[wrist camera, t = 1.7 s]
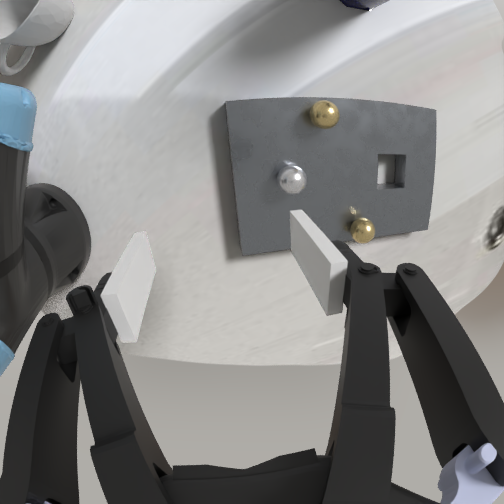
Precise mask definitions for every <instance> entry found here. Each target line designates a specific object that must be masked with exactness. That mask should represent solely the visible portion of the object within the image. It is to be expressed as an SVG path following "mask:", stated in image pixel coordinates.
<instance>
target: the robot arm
mask: <svg viewBox="0 0 504 504" xmlns="http://www.w3.org/2000/svg"><path fill="white" fill-rule="evenodd" d="M36 110H37V103H36V99H35V96H34V95H33V93H32V92H31V91H30V90H28V89H26V88H23V87H20V86H15V85H11V84H6V83H1V82H0V376H1V375H2V374H3V372H4V371H5V369H6V368H7V366H8V365H9V364H10V362H11V361H12V360H13V359H14V357H15V356H14V354H15V352H16V350H17V348H18V347H19V345H20V343H21V341H22V340H23V338H24V336H25V334H26V333H27V331H28V329H29V328H30V326H31V324H32V323H33V321H34V320H35V318H36V316H37V315H38V313H39V312H40V310H41V309H42V307H43V305H44V304H45V302H46V301H47V299H48V298H49V297H50V296H52V295H53V294H55V293H57V292H59V291H61V290H62V289H64V288H66V287H68V286H70V285H71V284H72V283H74V282H75V281H76V280H77V279H78V277H79V276H80V274H81V273H82V272H83V270H84V269H85V267H86V265H87V263H88V260H89V257H90V252H91V237H90V231H89V227H88V224H87V221H86V219H85V216H84V214H83V212H82V211H81V209H80V207H79V206H78V205H77V203H76V202H75V201H74V200H73V198H72V197H71V196H70V195H68V194H67V193H66V192H65V191H63V190H62V189H60V188H58V187H56V186H54V185H51V184H45V183H39V184H34V185H31V186H29V187H27V188H26V181H27V171H28V163H29V156H30V151H32V149H33V143H32V135H33V128H34V121H35V116H36ZM290 230H291V252H292V254H293V255H294V257H295V259H296V261H297V262H298V264H299V266H300V268H301V270H302V271H303V273H304V275H305V277H306V278H307V280H308V282H309V284H310V286H311V287H312V289H313V291H314V293H315V295H316V297H317V298H318V300H319V302H320V304H321V306H322V308H323V309H324V311H325V313H326V315H327V316H328V315H333V314H338V313H342V310H343V302H344V304H345V305H346V307H347V314H346V320H345V327H344V328H345V335H344V345H343V354H342V363H341V371H340V378H339V385H338V392H337V399H336V404H335V410H334V416H333V422H332V427H331V432H330V437H329V442H328V446H327V450H326V454H325V455H316V451H315V449H314V448H313V449H310V450H305V451H301V452H296V453H292V454H287V455H282V456H278V457H276V458H273V459H271V460H269V461H266V462H264V463H261V464H259V465H256V466H253V467H250V468H248V469H234V468H226V467H218V466H212V465H186V466H185V465H184V466H183V465H182V466H173V470H172V468H171V467H170V465H169V464H168V462H167V460H166V459H165V457H164V455H163V453H162V451H161V449H160V447H159V445H158V443H157V441H156V439H155V437H154V435H153V433H152V431H151V428H150V426H149V424H148V422H147V420H146V417H145V415H144V413H143V411H142V408H141V406H140V403H139V401H138V398H137V396H136V393H135V391H134V389H133V386H132V383H131V381H130V378H129V375H128V372H127V370H126V367H125V364H124V361H123V358H122V355H121V352H120V349H119V346H118V344H117V342H116V338H117V335H119V338H120V340H121V342H122V343H132V342H137V339H138V335H139V331H140V327H141V323H142V319H143V316H144V312H145V308H146V304H147V301H148V297H149V294H150V290H151V287H152V283H153V280H154V276H155V273H156V266H155V263H154V259H153V255H152V252H151V248H150V244H149V240H148V236H147V232H146V231H142V232H136V233H134V235H133V237H132V238H131V240H130V242H129V243H128V245H127V247H126V249H125V250H124V252H123V254H122V256H121V257H120V259H119V261H118V263H117V265H116V267H115V268H114V270H113V272H111V273H107V274H106V275H104V276H103V277H102V278H101V280H100V281H99V283H98V285H97V287H96V290H94V292H93V290H92V288H91V286H88V285H83V286H80V287H77V288H75V289H73V290H72V291H70V292H69V293H68V295H67V297H66V300H67V302H68V304H69V307H70V309H71V311H72V313H73V317H71V318H68V319H64V320H61V319H60V317H59V315H58V314H57V313H50V314H46V315H45V316H43V317H42V318H41V319H40V320H39V322H38V323H37V326H36V328H35V331H34V334H33V336H32V339H31V342H30V345H29V348H28V351H27V354H26V357H25V360H24V363H23V366H22V370H21V373H20V377H19V380H18V384H17V388H16V392H15V396H14V400H13V405H12V409H11V414H10V419H9V424H8V431H7V436H6V443H5V451H4V460H3V472H2V475H1V478H0V504H79V489H78V474H77V420H78V403H79V390H80V380H81V384H82V389H83V394H84V399H85V404H86V408H87V413H88V417H89V421H90V425H91V429H92V433H93V437H94V440H95V445H94V446H91V449H90V452H91V457H92V460H93V463H94V467H95V470H96V473H97V476H98V479H99V481H100V484H101V487H102V490H103V492H104V495H105V497H106V500H107V502H108V504H492V503H493V502H494V501H495V500H496V498H497V497H498V496H499V495H500V494H501V493H502V492H503V491H504V403H503V401H502V399H501V397H500V394H499V392H498V390H497V388H496V386H495V384H494V382H493V380H492V378H491V376H490V374H489V372H488V370H487V369H486V367H485V365H484V363H483V361H482V359H481V358H480V356H479V354H478V352H477V351H476V349H475V347H474V345H473V344H472V342H471V340H470V339H469V337H468V335H467V334H466V332H465V330H464V329H463V327H462V326H461V324H460V323H459V321H458V319H457V318H456V316H455V315H454V313H453V312H452V310H451V309H450V307H449V306H448V304H447V303H446V301H445V300H444V299H443V297H442V296H441V294H440V293H439V291H438V290H437V289H436V287H435V286H434V284H433V283H432V282H431V280H430V279H429V278H428V276H427V275H426V274H425V272H424V271H423V270H422V269H421V268H420V267H419V266H417V265H415V264H412V263H403V264H400V265H398V267H397V270H396V273H381V270H380V268H379V267H378V266H376V265H374V264H371V263H364V262H363V261H362V260H361V259H360V258H359V257H358V256H357V255H356V254H355V253H354V252H353V251H352V250H351V249H350V248H349V246H348V245H347V244H345V243H343V242H341V241H339V240H336V241H330V240H329V239H328V238H327V237H326V235H325V234H324V233H323V232H322V231H321V230H320V229H319V228H318V227H317V225H316V224H315V223H314V222H313V221H312V220H311V219H310V218H309V217H308V216H307V215H306V213H305V212H304V211H303V210H293V211H290ZM387 318H388V320H389V322H390V325H391V327H392V329H393V332H394V334H395V337H396V339H397V341H398V344H399V346H400V349H401V351H402V354H403V357H404V359H405V362H406V364H407V367H408V370H409V372H410V375H411V378H412V380H413V383H414V386H415V389H416V392H417V395H418V398H419V401H420V404H421V407H422V410H423V413H424V416H425V420H426V423H427V426H428V430H429V433H430V437H431V440H432V444H433V447H434V450H435V453H436V456H437V458H438V460H439V462H440V465H441V466H442V468H443V469H442V471H441V474H440V480H439V482H438V488H439V490H440V491H442V500H441V503H437V502H435V501H432V500H430V499H428V498H425V497H423V496H420V495H418V494H415V493H413V492H411V491H409V490H407V489H405V488H402V487H400V486H398V485H396V484H394V483H392V482H391V476H392V468H393V456H394V442H395V410H394V408H391V407H390V372H389V371H390V369H389V345H388V330H387Z"/></svg>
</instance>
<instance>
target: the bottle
mask: <svg viewBox="0 0 504 504" xmlns="http://www.w3.org/2000/svg"><path fill="white" fill-rule="evenodd" d="M340 1H341V2H342V3H343V4H344V5H346V6H347V7H352V8H357V9H362V10H367V11H371V10H372V9H373V8H375V7H377V6H379V5H381V4H383V3H385V2H387V1H389V0H340Z"/></svg>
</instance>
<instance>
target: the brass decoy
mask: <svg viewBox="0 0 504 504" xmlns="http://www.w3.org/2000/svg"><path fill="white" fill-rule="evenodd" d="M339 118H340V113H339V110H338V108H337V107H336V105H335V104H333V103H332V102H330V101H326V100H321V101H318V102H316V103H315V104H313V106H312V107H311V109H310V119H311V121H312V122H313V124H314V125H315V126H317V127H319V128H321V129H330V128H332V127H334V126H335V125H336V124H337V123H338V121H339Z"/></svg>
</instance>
